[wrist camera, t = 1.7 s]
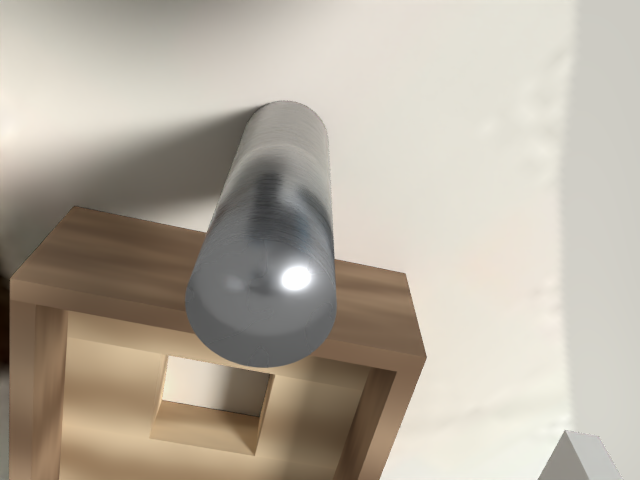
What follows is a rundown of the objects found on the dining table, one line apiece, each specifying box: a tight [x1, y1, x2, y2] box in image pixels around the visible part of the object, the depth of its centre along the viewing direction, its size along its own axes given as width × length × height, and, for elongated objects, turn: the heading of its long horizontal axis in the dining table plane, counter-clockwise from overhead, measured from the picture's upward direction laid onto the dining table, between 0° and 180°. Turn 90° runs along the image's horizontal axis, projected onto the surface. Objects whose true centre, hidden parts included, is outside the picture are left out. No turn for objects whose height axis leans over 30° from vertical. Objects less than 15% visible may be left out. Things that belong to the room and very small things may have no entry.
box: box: [9, 206, 427, 480], centre depth 32 cm, size 17×17×7 cm
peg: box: [185, 101, 337, 368], centre depth 22 cm, size 4×4×14 cm
